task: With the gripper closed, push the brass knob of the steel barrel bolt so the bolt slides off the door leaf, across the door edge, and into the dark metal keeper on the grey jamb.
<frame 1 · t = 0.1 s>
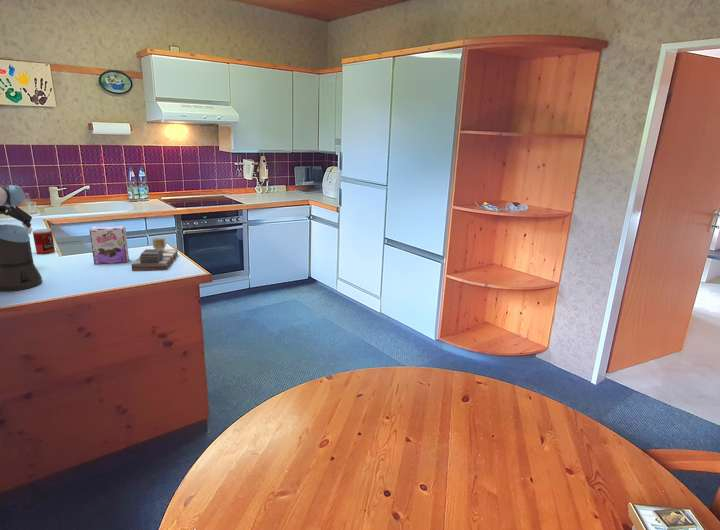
hand: (13, 231, 198), 15 cm above the kitchen counter, tool tilted 35°, fingers open, 13 cm apart
canned food: (45, 252, 225), on the kitchen counter
door mockup: (156, 262, 212), on the kitchen counter
candy box: (112, 262, 211), on the kitchen counter
bolt: (158, 246, 216), point 6 cm above the kitchen counter, slide at 0.0 cm
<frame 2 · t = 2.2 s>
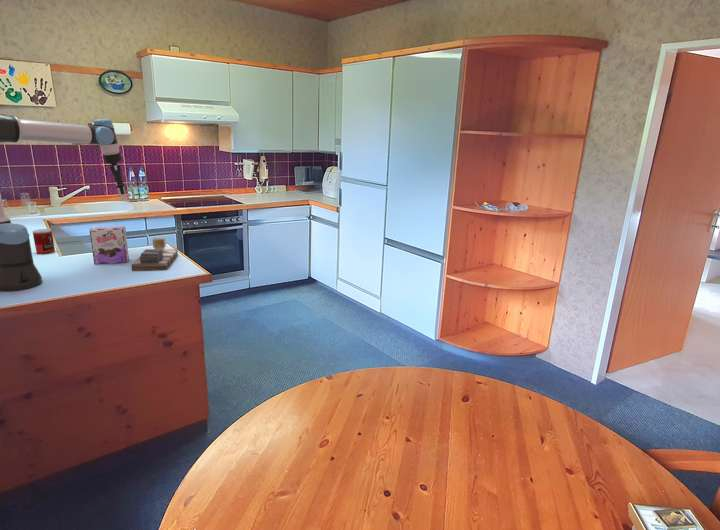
hand: (123, 197, 221), 27 cm above the kitchen counter, tool pointing down, fingers open, 13 cm apart
nothing on the kitchen counter moved.
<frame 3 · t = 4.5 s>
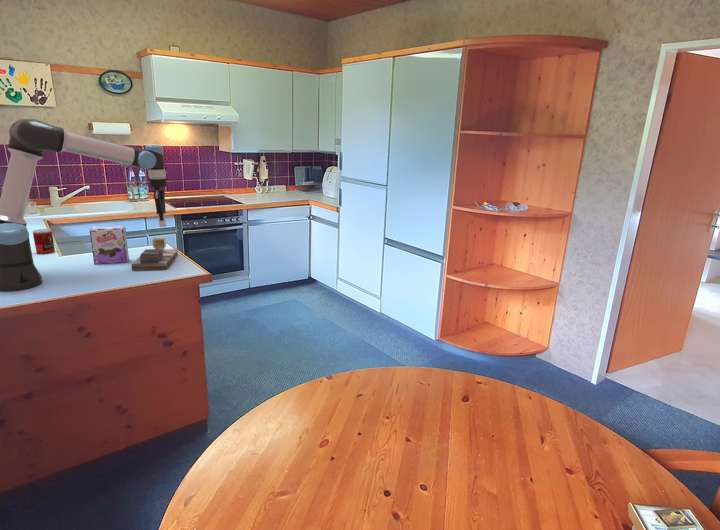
hand: (162, 226, 225), 14 cm above the kitchen counter, tool pointing down, fingers closed
nothing on the kitchen counter moved.
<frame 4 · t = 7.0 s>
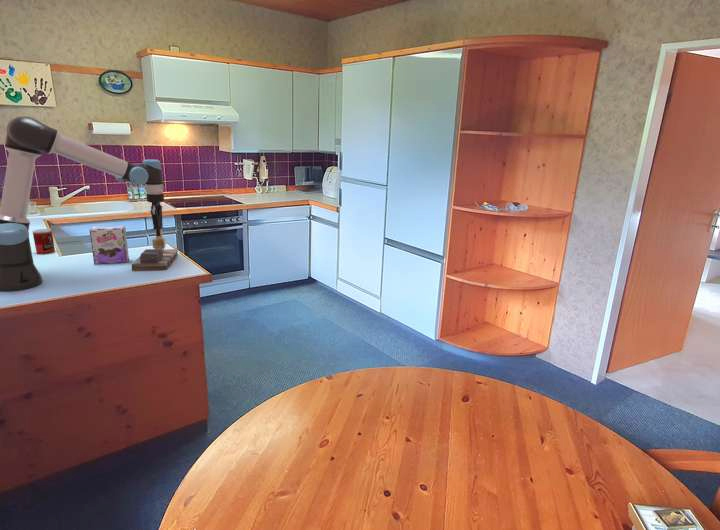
hand: (159, 242, 220), 7 cm above the kitchen counter, tool pointing down, fingers closed
bolt: (157, 246, 215), point 6 cm above the kitchen counter, slide at 0.6 cm, touching gripper
everything else where it was.
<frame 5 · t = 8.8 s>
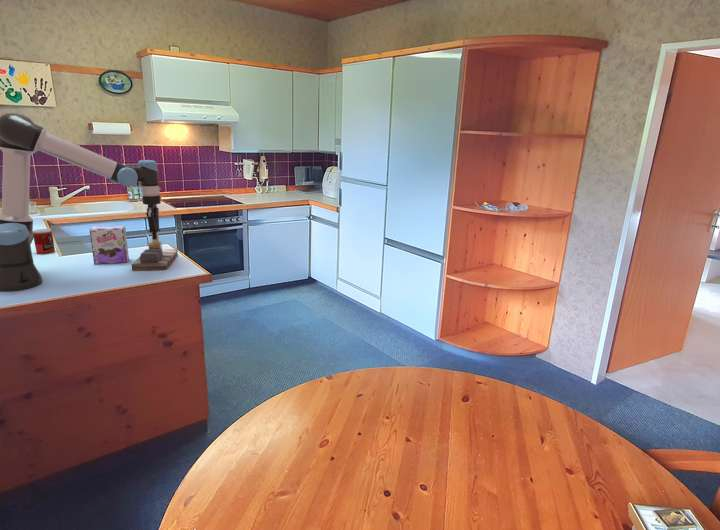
hand: (156, 245, 213), 7 cm above the kitchen counter, tool pointing down, fingers closed
bolt: (153, 250, 208), point 6 cm above the kitchen counter, slide at 8.1 cm, touching gripper
everything else where it was.
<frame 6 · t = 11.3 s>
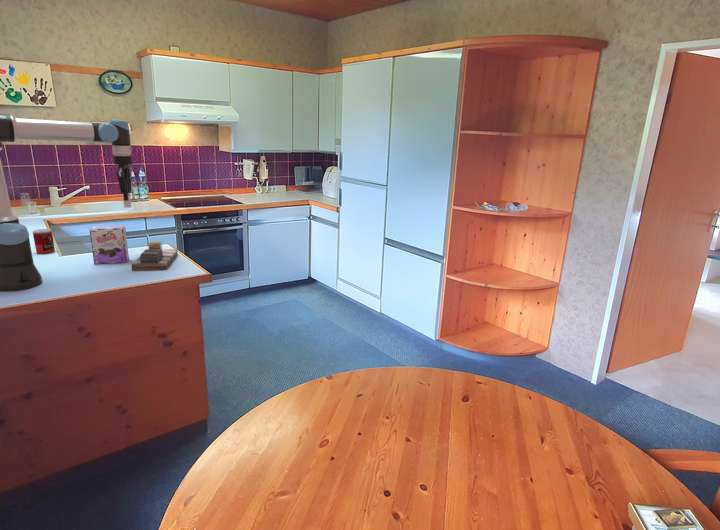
hand: (127, 207, 212), 24 cm above the kitchen counter, tool pointing down, fingers closed
bolt: (153, 250, 208), point 6 cm above the kitchen counter, slide at 8.2 cm
everything else where it was.
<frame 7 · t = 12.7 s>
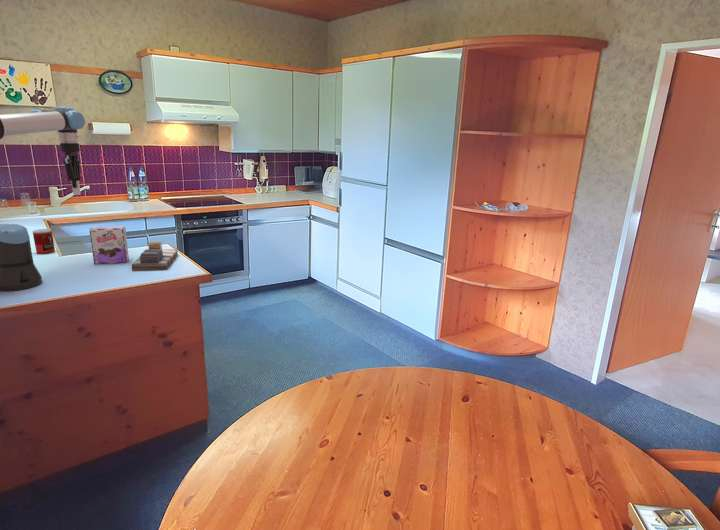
hand: (77, 194, 213), 29 cm above the kitchen counter, tool pointing down, fingers closed
nothing on the kitchen counter moved.
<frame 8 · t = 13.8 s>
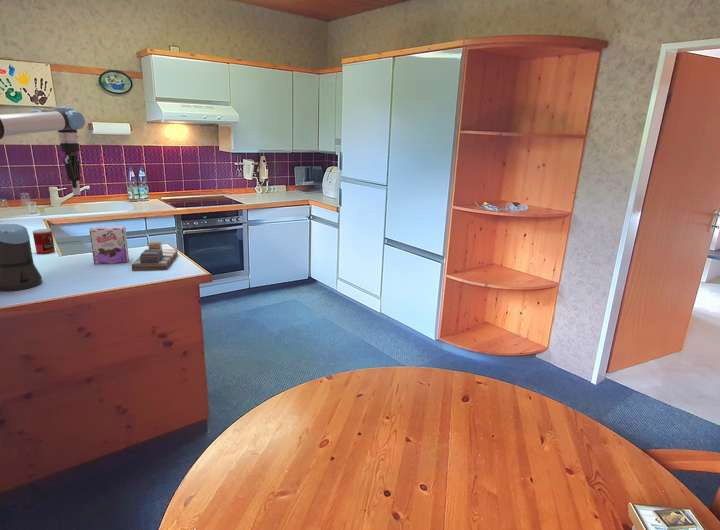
hand: (77, 194, 213), 29 cm above the kitchen counter, tool pointing down, fingers closed
nothing on the kitchen counter moved.
at the end: bolt slide at 8.2 cm; candy box moved 0.3 cm from its start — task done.
